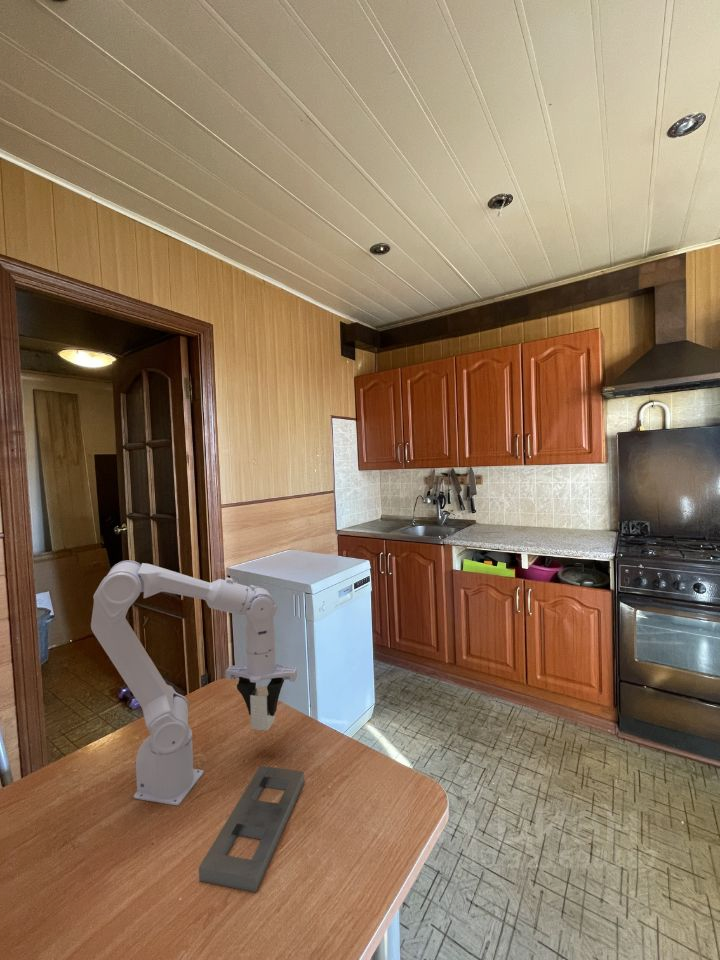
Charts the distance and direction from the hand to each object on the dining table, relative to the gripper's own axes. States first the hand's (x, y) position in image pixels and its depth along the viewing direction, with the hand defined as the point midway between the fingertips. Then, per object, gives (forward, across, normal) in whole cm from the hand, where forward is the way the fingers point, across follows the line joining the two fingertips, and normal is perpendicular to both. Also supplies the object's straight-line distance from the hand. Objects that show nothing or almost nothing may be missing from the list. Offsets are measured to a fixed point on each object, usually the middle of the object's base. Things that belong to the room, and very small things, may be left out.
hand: (262, 712), depth 82 cm
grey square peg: (+2, 0, 0) cm, 2 cm away
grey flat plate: (+9, +4, -16) cm, 19 cm away
